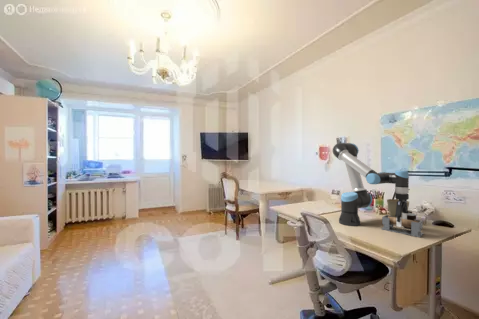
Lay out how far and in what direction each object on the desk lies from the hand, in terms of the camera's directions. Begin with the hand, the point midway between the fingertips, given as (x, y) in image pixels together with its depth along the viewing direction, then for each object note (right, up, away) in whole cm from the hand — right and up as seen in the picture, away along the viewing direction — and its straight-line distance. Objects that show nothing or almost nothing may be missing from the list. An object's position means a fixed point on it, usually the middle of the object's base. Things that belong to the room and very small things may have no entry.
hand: (401, 224), depth 159 cm
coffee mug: (+11, -5, +10) cm, 16 cm away
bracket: (0, -5, 0) cm, 5 cm away
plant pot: (+16, -5, +27) cm, 32 cm away
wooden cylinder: (0, -1, 0) cm, 1 cm away
